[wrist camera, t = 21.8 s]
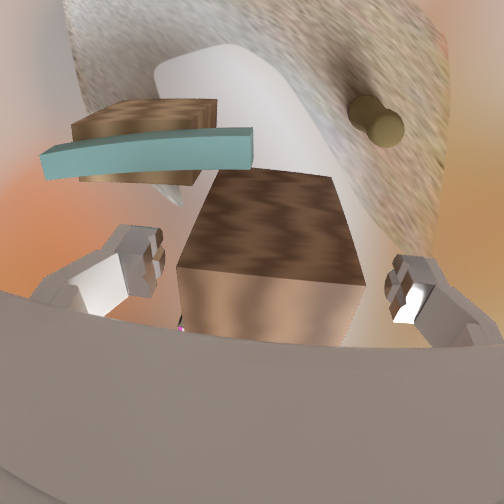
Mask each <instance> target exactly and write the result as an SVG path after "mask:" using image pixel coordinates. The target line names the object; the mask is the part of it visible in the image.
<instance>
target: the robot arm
mask: <svg viewBox="0 0 504 504" xmlns="http://www.w3.org/2000/svg"><path fill="white" fill-rule="evenodd" d="M162 241H163V235H162V230H161V229H160V228H152V227H144V226H133V225H124V224H122V225H119V226H118V227H117V229H116V230H115V231H114V233H113V234H112V235H111V237H110V238H109V239H108V241H107V242H106V243H105V245H104V246H103V247H102V249H101V250H96V251H94V252H92V253H90V254H88V255H86V256H84V257H82V258H80V259H78V260H76V261H74V262H72V263H70V264H69V265H67V266H65V267H63V268H61V269H59V270H57V271H55V272H54V273H52V274H50V275H49V276H47V277H45V278H43V280H42V281H41V283H40V284H39V285H38V287H37V288H36V289H35V291H34V292H33V294H32V295H31V297H30V298H29V299H28V298H25V297H21V296H18V295H14V294H11V293H8V292H4V291H1V290H0V504H504V340H503V337H502V335H501V333H500V331H499V329H498V327H497V325H496V323H495V322H494V321H493V320H492V319H491V318H490V317H489V316H487V315H486V314H485V313H484V312H483V311H482V310H481V309H479V308H478V307H477V306H476V305H475V304H473V303H472V302H471V301H470V300H469V299H467V298H466V297H465V296H464V295H463V294H461V293H460V292H459V291H458V290H457V289H455V288H454V287H451V286H449V284H448V282H447V280H446V278H445V276H444V274H443V272H442V270H441V269H440V267H439V265H438V263H437V261H436V260H435V259H434V258H432V257H422V256H421V257H419V256H410V255H399V254H397V256H396V257H395V258H394V260H393V263H392V264H393V267H394V269H393V270H392V271H390V272H389V273H388V275H387V278H386V280H385V287H384V289H385V295H386V299H387V300H388V301H389V302H391V305H390V307H389V309H390V312H391V315H392V319H393V322H405V323H414V325H415V327H416V328H417V329H418V330H419V331H420V333H421V334H422V335H423V336H424V337H425V339H426V340H427V341H428V342H429V344H430V345H431V346H432V347H433V348H362V347H338V346H319V345H304V344H290V343H278V342H267V341H257V340H247V339H238V338H230V337H221V336H214V335H206V334H199V333H192V332H185V331H179V330H172V329H166V328H160V327H154V326H148V325H143V324H137V323H132V322H127V321H122V320H117V319H112V318H107V317H103V316H105V315H106V314H107V313H108V312H110V311H111V310H112V309H113V308H115V307H116V306H117V305H118V304H120V303H121V302H122V301H123V300H125V299H126V298H127V297H128V295H131V296H139V297H147V298H151V297H152V295H153V293H154V290H155V288H156V286H157V281H156V279H157V278H158V277H160V276H161V275H162V272H163V270H164V264H165V250H164V249H163V248H162V246H161V245H160V244H161V243H162Z"/></svg>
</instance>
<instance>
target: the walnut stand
mask: <svg viewBox="0 0 504 504" xmlns="http://www.w3.org/2000/svg"><path fill="white" fill-rule="evenodd" d="M176 270H177V278H178V287H179V294H180V303H181V311H182V318H183V325H184V331H185V332H192V333H199V334H206V335H214V336H221V337H230V338H238V339H247V340H257V341H267V342H278V343H290V344H304V345H319V346H338V347H340V346H341V344H342V341H343V339H344V337H345V335H346V332H347V330H348V328H349V326H350V324H351V321H352V319H353V317H354V315H355V312H356V310H357V307H358V305H359V303H360V300H361V298H362V296H363V293H364V291H365V288H366V283H365V280H364V276H363V273H362V269H361V266H360V262H359V259H358V256H357V252H356V249H355V246H354V242H353V239H352V236H351V233H350V230H349V227H348V224H347V221H346V218H345V215H344V212H343V209H342V206H341V203H340V200H339V197H338V195H337V192H336V189H335V186H334V184H333V181H332V178H331V177H327V176H320V175H312V174H304V173H296V172H288V171H279V170H270V169H259V168H251V170H234V169H220V170H219V172H218V174H217V176H216V178H215V180H214V182H213V184H212V187H211V189H210V191H209V193H208V195H207V197H206V199H205V202H204V204H203V206H202V208H201V211H200V213H199V215H198V217H197V220H196V222H195V224H194V226H193V228H192V231H191V233H190V235H189V238H188V240H187V242H186V245H185V247H184V249H183V252H182V254H181V256H180V259H179V261H178V264H177V266H176Z"/></svg>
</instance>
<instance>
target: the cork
mask: <svg viewBox="0 0 504 504" xmlns="http://www.w3.org/2000/svg"><path fill="white" fill-rule="evenodd" d="M348 116H349V120H350V122H351V123H352V125H353V126H354V127H355V128H356V129H358V130H361V131H363V132H365V133H367V135H368V137H369V139H370V140H371V141H372V142H373V143H374V144H376V145H378V146H380V147H385V148H389V147H393V146H395V145H397V144H398V143H399V142H400V141H401V140H402V138H403V136H404V130H405V129H404V123H403V121H402V119H401V117H400V116H399V115H398V114H397V113H396V112H394V111H392V110H390V109H386V108H385V107H384V106H383V104H382V103H381V102H380V101H379V100H378V99H377V98H375V97H373V96H369V95H362V96H359V97H357V98H355V99H354V100H353V101H352V102H351V104H350V106H349V109H348Z"/></svg>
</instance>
